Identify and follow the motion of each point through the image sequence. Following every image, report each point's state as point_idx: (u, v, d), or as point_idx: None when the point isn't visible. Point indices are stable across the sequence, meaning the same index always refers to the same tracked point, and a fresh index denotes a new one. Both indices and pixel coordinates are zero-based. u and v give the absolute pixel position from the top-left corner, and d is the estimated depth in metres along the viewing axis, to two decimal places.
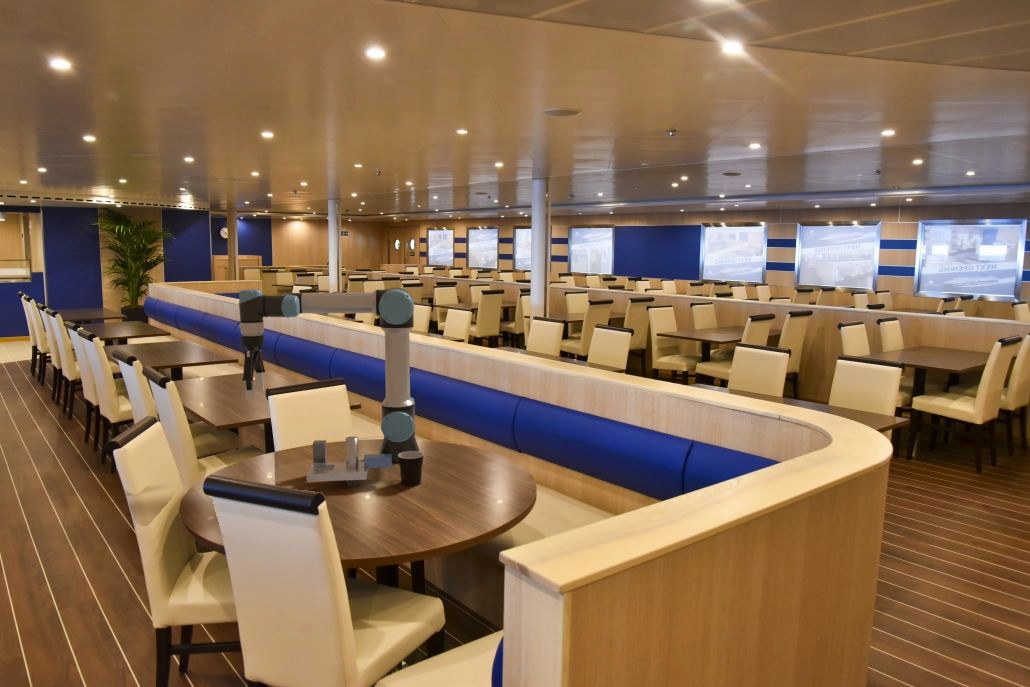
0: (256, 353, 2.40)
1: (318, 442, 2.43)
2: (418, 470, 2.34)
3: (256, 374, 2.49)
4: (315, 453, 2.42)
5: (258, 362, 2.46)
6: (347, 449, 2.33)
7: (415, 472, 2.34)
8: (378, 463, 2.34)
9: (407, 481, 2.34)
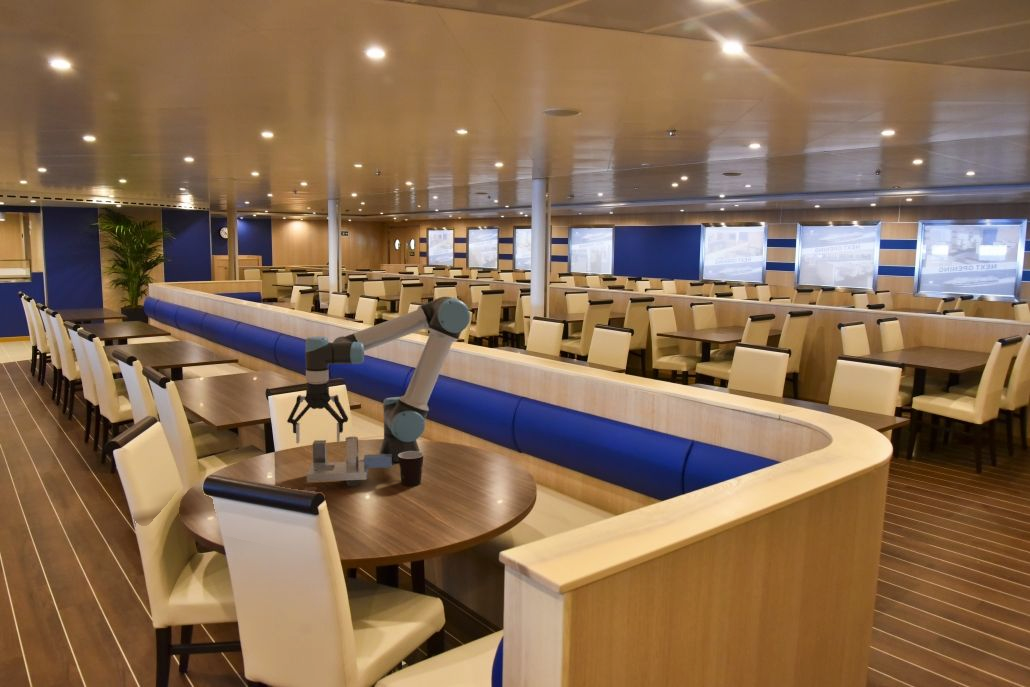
0: (311, 400, 2.40)
1: (318, 442, 2.43)
2: (418, 470, 2.34)
3: (337, 424, 2.44)
4: (315, 453, 2.42)
5: None
6: (347, 449, 2.33)
7: (415, 472, 2.34)
8: (378, 463, 2.34)
9: (407, 481, 2.34)
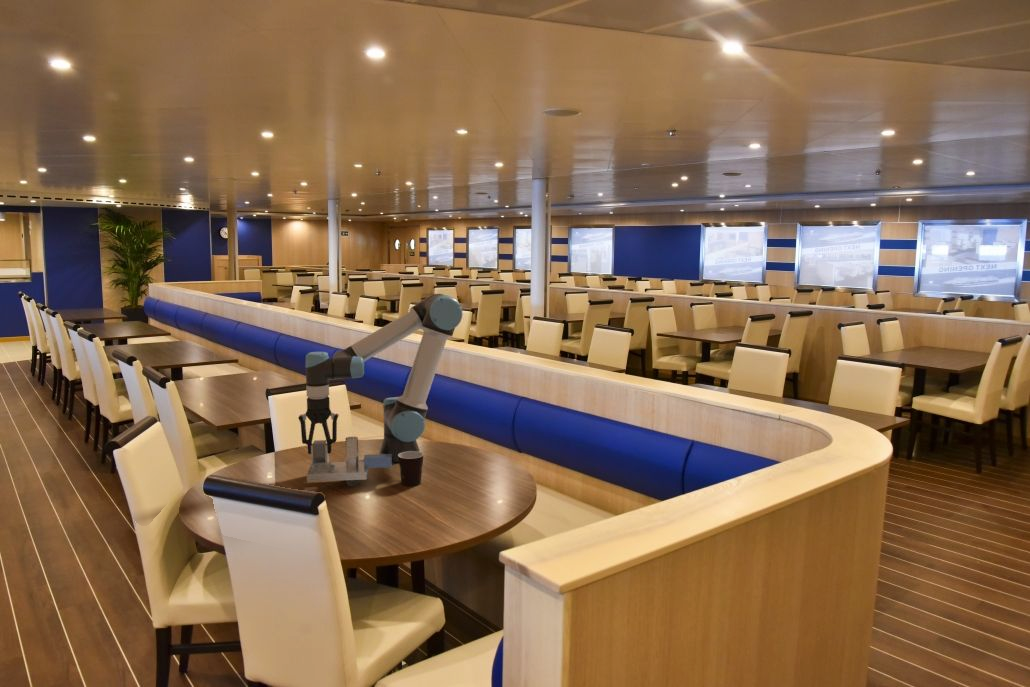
0: (312, 416, 2.40)
1: (318, 442, 2.43)
2: (418, 470, 2.34)
3: None
4: (315, 452, 2.42)
5: None
6: (347, 449, 2.33)
7: (415, 472, 2.34)
8: (378, 463, 2.34)
9: (407, 481, 2.34)
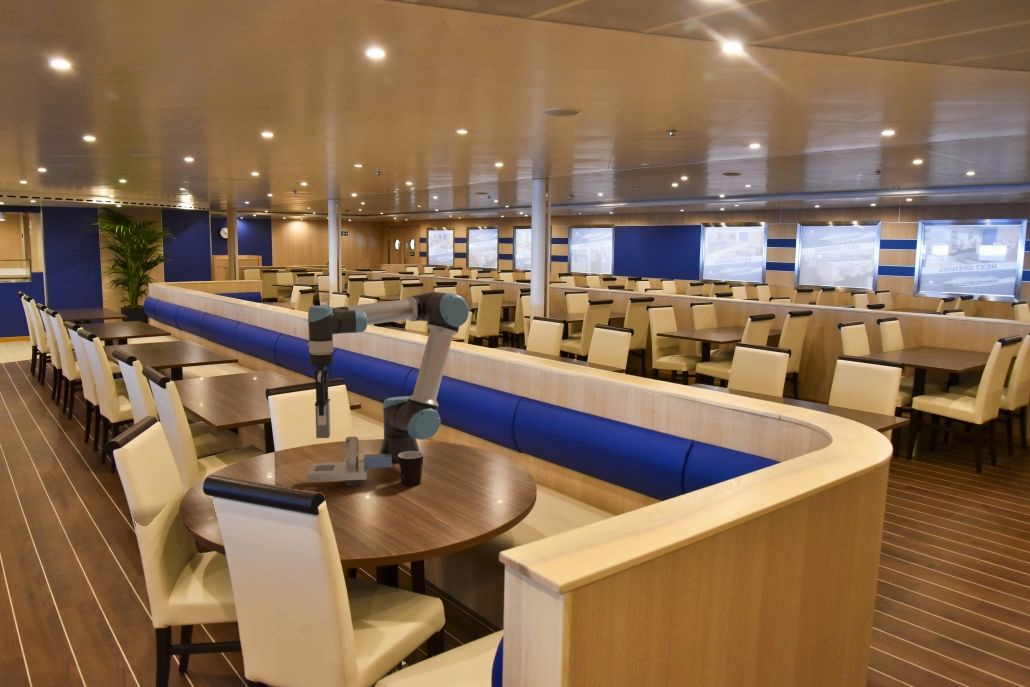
0: (325, 374, 2.28)
1: None
2: (418, 470, 2.34)
3: None
4: (328, 411, 2.30)
5: (325, 385, 2.32)
6: (347, 449, 2.33)
7: (415, 472, 2.34)
8: (378, 463, 2.34)
9: (407, 481, 2.34)
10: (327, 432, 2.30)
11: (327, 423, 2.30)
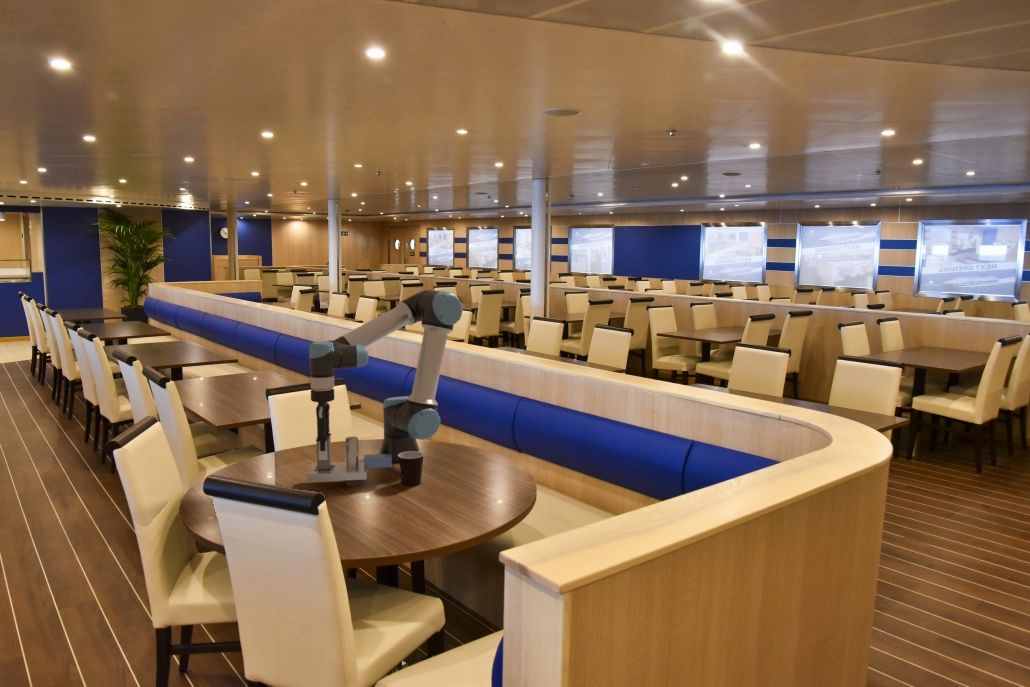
0: (326, 409, 2.29)
1: None
2: (418, 470, 2.34)
3: None
4: (329, 446, 2.32)
5: (326, 420, 2.33)
6: (347, 449, 2.33)
7: (415, 472, 2.34)
8: (378, 463, 2.34)
9: (407, 481, 2.34)
10: (328, 467, 2.32)
11: (328, 458, 2.32)
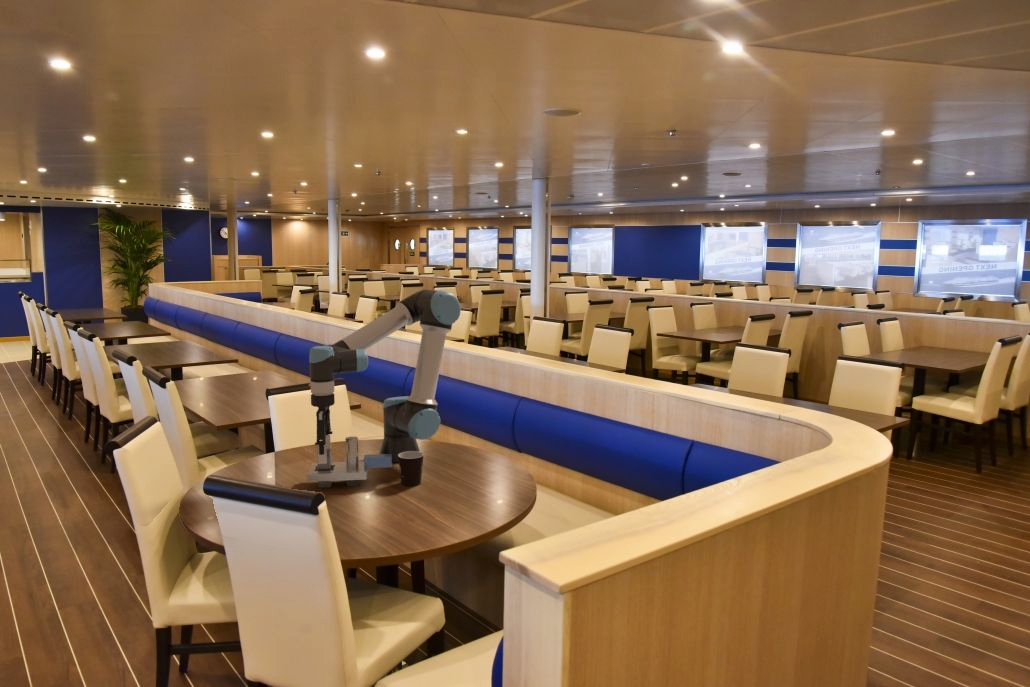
0: (326, 413, 2.30)
1: None
2: (418, 470, 2.34)
3: None
4: (330, 461, 2.33)
5: None
6: (347, 449, 2.33)
7: (415, 472, 2.34)
8: (378, 463, 2.34)
9: (407, 481, 2.34)
10: (329, 481, 2.33)
11: None
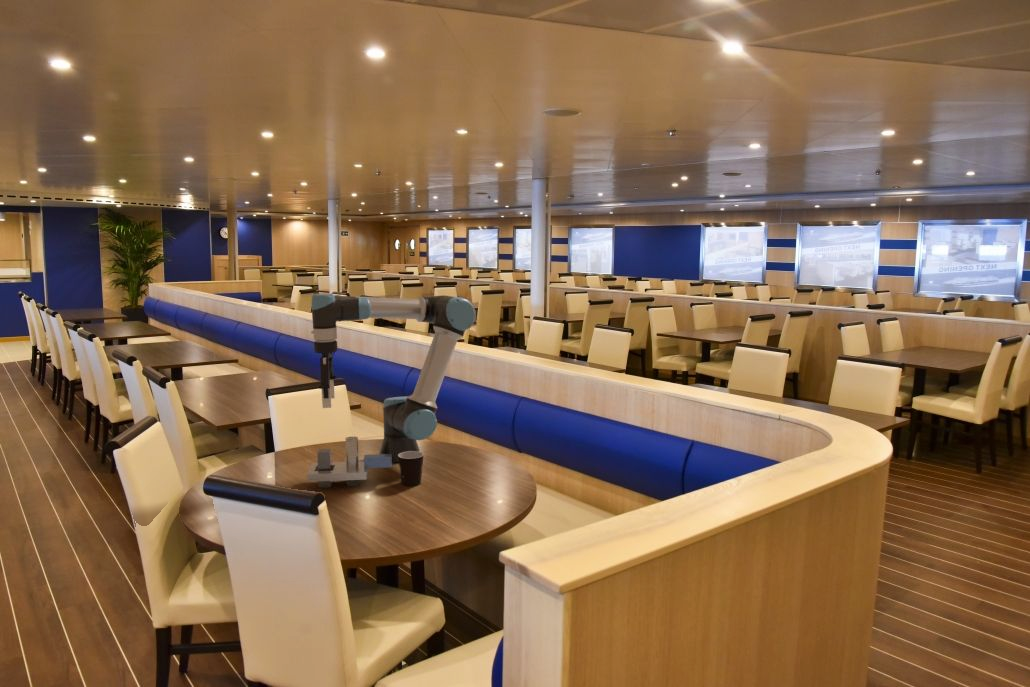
0: (330, 360, 2.31)
1: (324, 451, 2.33)
2: (418, 470, 2.34)
3: None
4: (330, 461, 2.33)
5: None
6: (347, 449, 2.33)
7: (415, 472, 2.34)
8: (378, 463, 2.34)
9: (407, 481, 2.34)
10: (329, 481, 2.33)
11: None
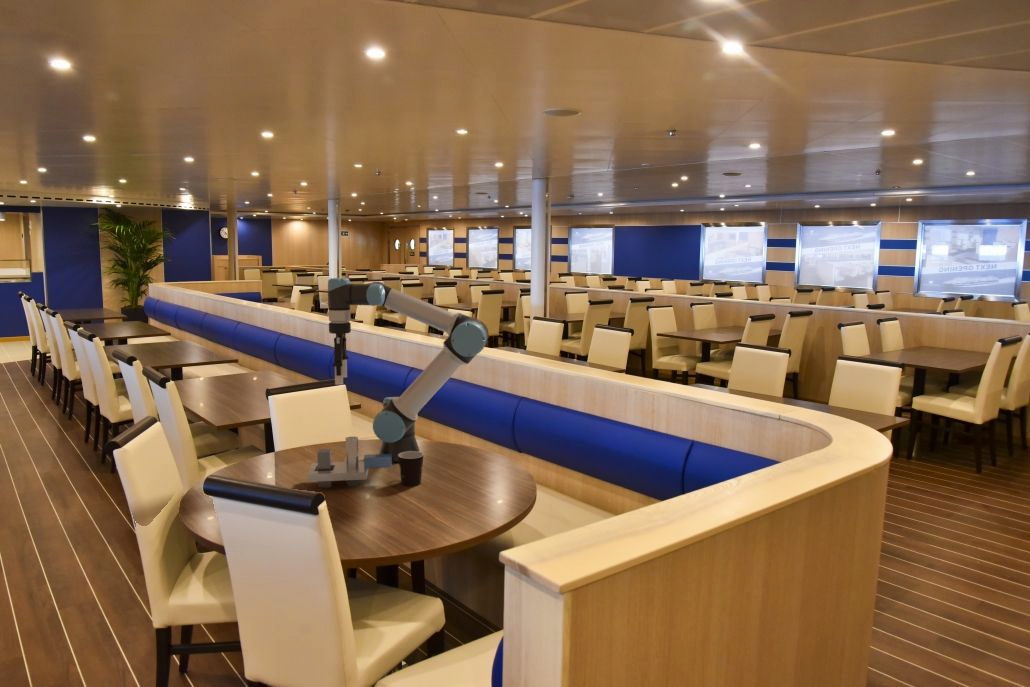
0: (343, 340, 2.47)
1: (324, 451, 2.33)
2: (418, 470, 2.34)
3: None
4: (330, 461, 2.33)
5: (343, 349, 2.53)
6: (347, 449, 2.33)
7: (415, 472, 2.34)
8: (378, 463, 2.34)
9: (407, 481, 2.34)
10: (329, 481, 2.33)
11: None
